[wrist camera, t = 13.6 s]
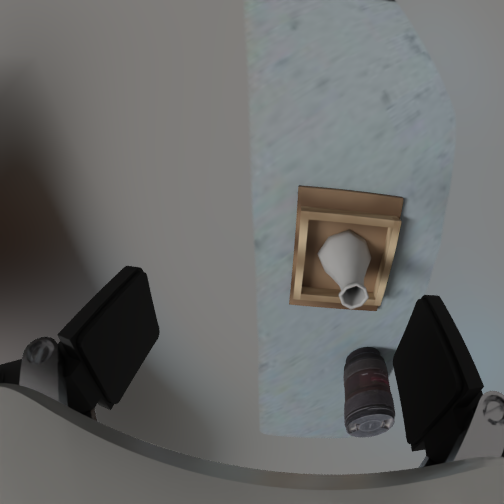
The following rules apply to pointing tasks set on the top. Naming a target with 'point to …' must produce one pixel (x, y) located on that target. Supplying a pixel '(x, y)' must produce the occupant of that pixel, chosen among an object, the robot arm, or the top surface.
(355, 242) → the flask
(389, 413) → the camera lens
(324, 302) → the shaker holder
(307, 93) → the top surface
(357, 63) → the top surface
